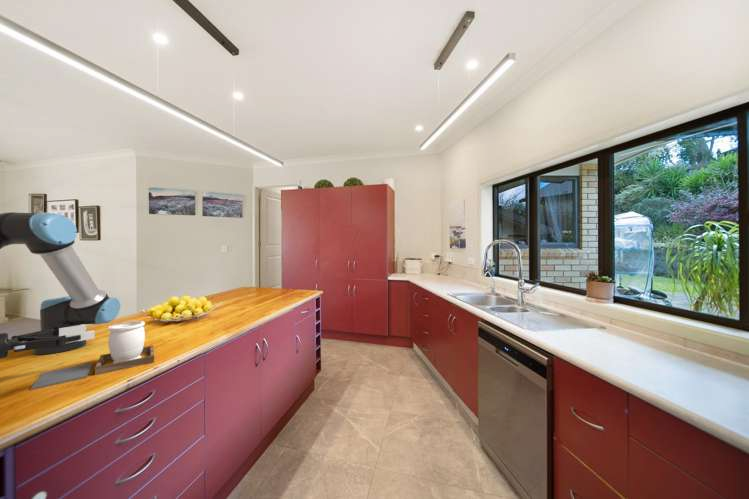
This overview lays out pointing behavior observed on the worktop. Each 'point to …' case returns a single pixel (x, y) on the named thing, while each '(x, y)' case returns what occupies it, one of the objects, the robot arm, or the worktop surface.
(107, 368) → the brown rectangular frame
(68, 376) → the mat
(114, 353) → the jar
